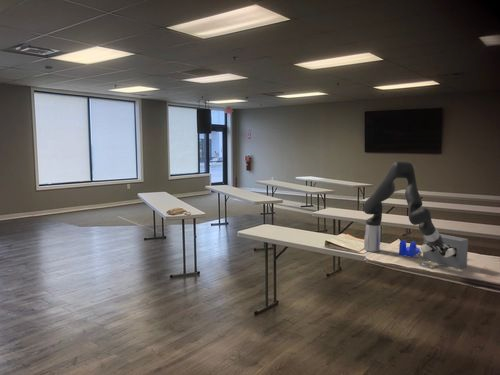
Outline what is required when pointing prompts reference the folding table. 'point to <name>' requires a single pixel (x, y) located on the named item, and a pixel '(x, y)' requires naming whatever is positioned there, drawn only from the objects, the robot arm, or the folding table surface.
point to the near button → (450, 252)
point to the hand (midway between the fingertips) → (443, 254)
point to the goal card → (428, 265)
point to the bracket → (408, 249)
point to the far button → (426, 248)
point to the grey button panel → (454, 260)
